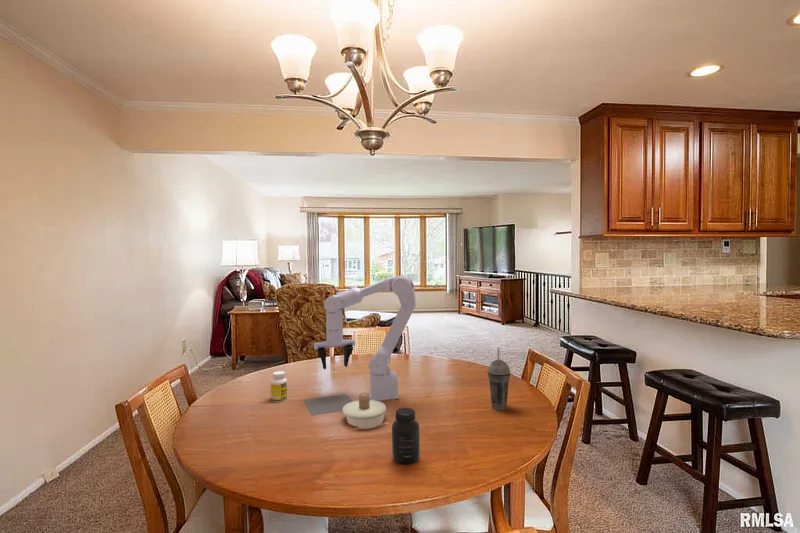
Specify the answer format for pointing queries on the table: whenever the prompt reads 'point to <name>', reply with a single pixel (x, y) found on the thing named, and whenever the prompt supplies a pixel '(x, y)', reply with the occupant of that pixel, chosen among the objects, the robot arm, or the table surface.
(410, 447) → the supplement bottle
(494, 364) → the beverage cup
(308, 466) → the table surface
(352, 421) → the bowl
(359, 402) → the lid
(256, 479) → the table surface
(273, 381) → the supplement bottle
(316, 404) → the mat
